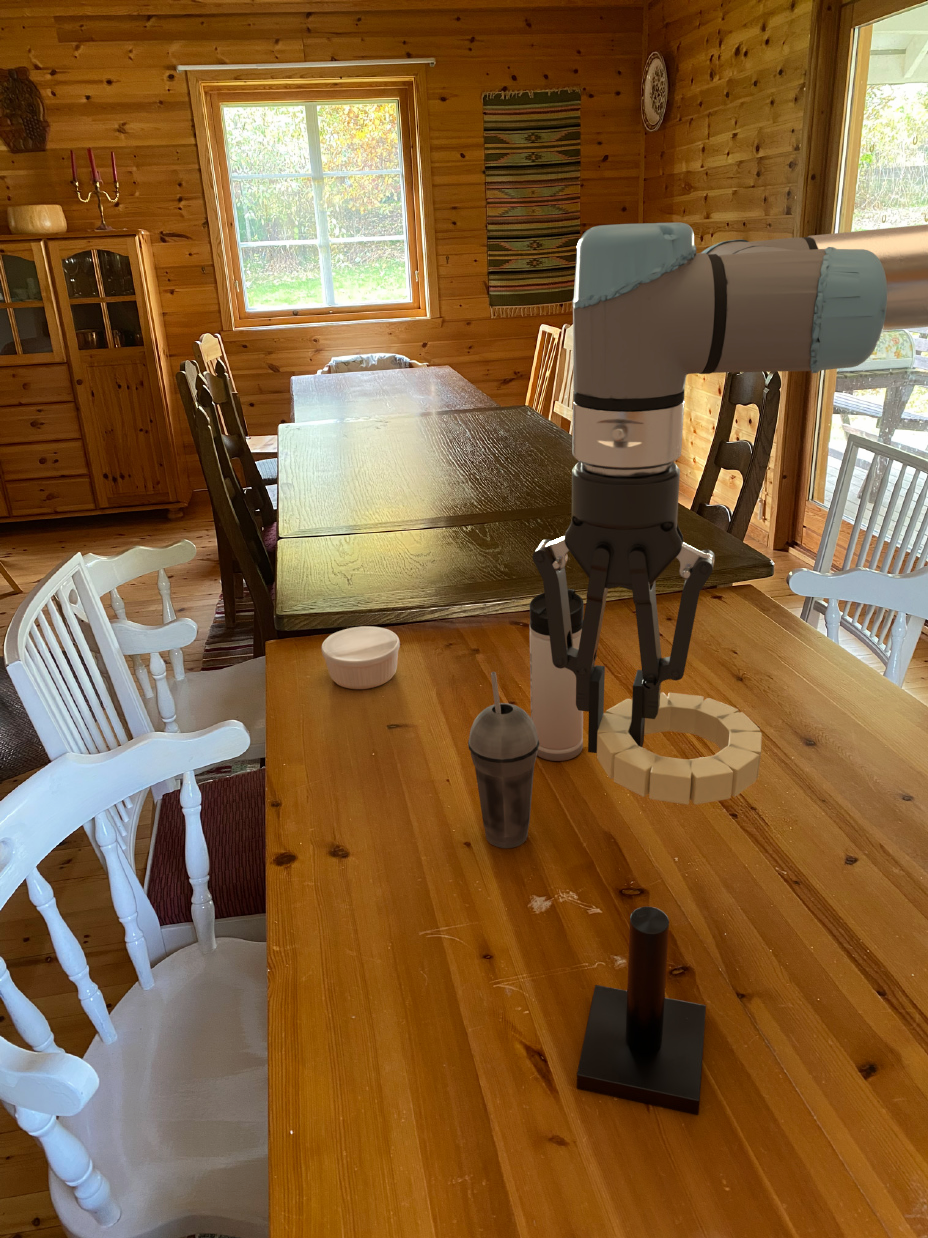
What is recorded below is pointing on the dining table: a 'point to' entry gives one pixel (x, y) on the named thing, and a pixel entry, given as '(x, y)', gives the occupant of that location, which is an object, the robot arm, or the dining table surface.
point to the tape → (682, 776)
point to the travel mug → (554, 686)
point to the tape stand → (644, 1029)
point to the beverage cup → (504, 769)
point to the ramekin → (361, 656)
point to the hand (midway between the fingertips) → (616, 746)
